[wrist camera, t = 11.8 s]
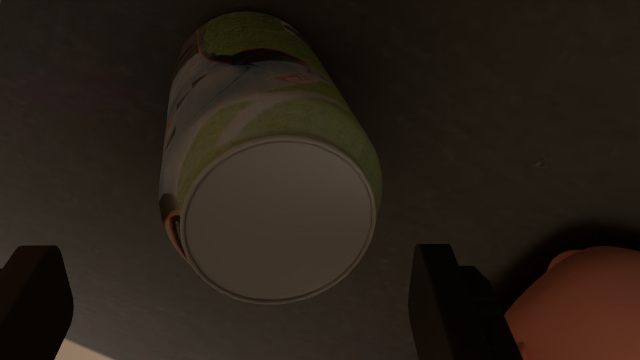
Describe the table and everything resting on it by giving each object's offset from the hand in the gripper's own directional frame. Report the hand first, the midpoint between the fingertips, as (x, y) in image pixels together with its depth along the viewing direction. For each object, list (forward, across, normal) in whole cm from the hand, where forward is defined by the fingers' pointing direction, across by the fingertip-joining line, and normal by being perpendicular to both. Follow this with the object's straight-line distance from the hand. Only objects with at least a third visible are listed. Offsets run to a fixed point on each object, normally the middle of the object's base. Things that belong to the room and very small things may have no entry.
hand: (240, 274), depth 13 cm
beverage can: (+13, 0, 0) cm, 13 cm away
